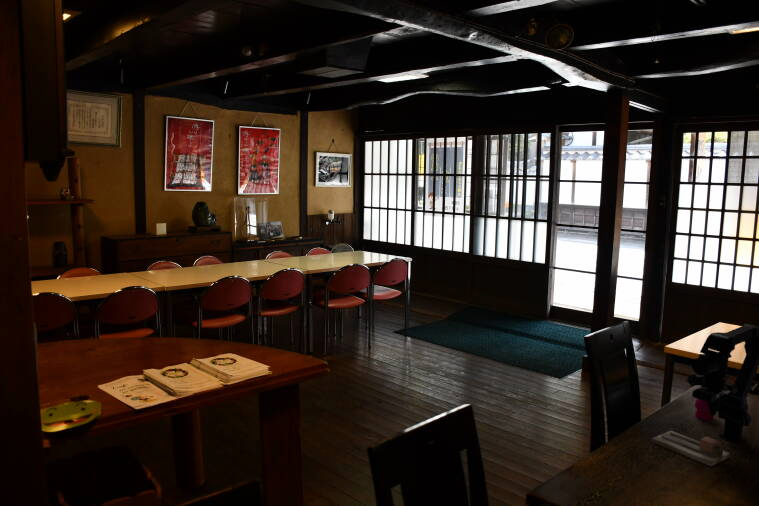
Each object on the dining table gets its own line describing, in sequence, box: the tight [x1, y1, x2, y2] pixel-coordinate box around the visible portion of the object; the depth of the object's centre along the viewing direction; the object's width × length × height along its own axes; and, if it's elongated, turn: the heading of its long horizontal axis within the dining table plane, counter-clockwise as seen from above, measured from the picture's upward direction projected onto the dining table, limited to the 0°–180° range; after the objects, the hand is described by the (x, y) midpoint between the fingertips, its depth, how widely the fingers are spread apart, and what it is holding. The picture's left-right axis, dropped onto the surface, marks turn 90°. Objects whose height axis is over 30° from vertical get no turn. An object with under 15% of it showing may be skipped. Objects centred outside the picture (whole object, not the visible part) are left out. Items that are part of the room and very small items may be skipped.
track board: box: [651, 430, 731, 467], centre depth 199 cm, size 12×20×4 cm, turn 34°
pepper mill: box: [694, 385, 715, 421], centre depth 226 cm, size 7×7×20 cm
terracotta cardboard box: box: [699, 436, 720, 454], centre depth 194 cm, size 4×4×4 cm
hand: (712, 415), depth 201 cm, fingers closed
